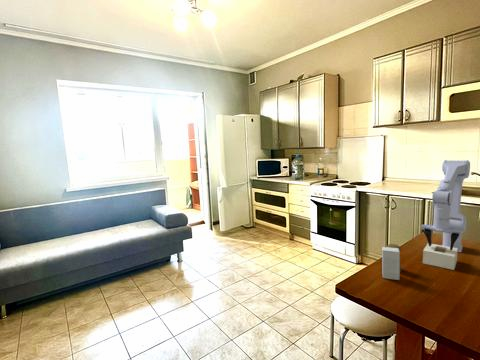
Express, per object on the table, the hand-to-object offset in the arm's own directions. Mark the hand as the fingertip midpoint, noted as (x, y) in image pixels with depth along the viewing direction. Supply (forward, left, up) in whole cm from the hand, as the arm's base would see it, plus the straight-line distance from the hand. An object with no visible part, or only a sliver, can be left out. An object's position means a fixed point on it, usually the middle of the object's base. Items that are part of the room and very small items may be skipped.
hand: (440, 247), depth 119 cm
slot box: (0, 0, -7) cm, 7 cm away
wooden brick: (0, 0, -7) cm, 7 cm away
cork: (+19, -14, -7) cm, 25 cm away
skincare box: (+27, -13, -7) cm, 31 cm away
